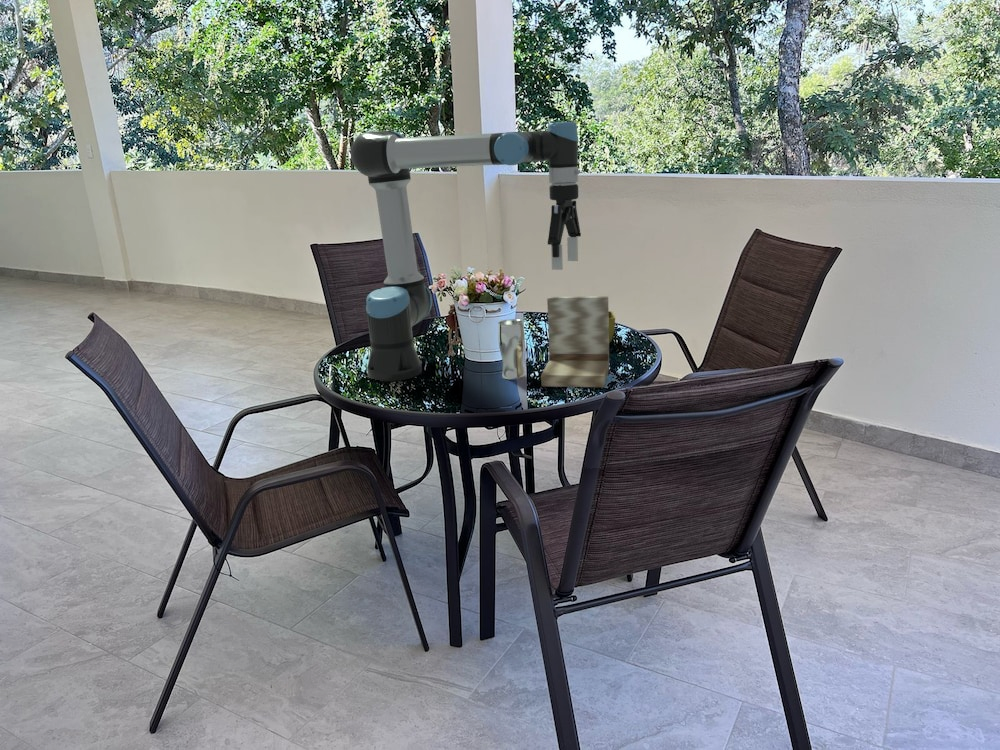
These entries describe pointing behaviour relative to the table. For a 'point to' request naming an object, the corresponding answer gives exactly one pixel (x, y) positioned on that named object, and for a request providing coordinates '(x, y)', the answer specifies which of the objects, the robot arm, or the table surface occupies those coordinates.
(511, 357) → the beer glass
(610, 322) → the flower pot
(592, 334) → the beige brown l-shaped block
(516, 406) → the table surface
